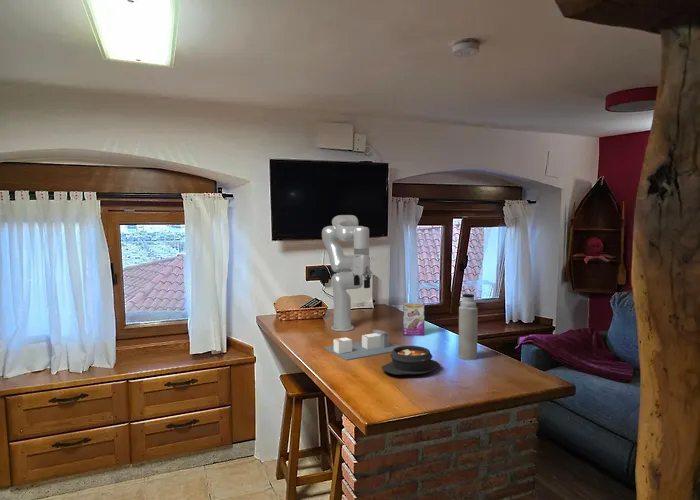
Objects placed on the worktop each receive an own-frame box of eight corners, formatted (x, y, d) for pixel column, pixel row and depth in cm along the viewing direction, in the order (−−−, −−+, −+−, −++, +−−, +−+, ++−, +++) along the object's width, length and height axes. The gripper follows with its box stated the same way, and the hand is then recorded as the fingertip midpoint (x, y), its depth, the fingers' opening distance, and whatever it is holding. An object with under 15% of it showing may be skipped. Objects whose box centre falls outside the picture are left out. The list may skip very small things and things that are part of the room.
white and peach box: (333, 351, 212) (333, 338, 212) (346, 348, 215) (346, 336, 215) (338, 353, 208) (338, 341, 207) (352, 351, 211) (352, 339, 211)
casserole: (397, 383, 172) (397, 361, 172) (372, 369, 189) (372, 349, 188) (450, 372, 184) (450, 351, 183) (422, 359, 200) (422, 340, 200)
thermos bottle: (459, 353, 208) (459, 292, 206) (477, 355, 205) (478, 293, 203) (457, 359, 200) (458, 295, 198) (476, 360, 198) (477, 296, 196)
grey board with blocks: (324, 348, 219) (323, 333, 219) (380, 338, 235) (379, 325, 234) (346, 360, 200) (346, 344, 199) (405, 349, 216) (405, 334, 215)
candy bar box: (403, 335, 241) (403, 304, 240) (403, 333, 246) (402, 302, 245) (424, 335, 240) (424, 304, 239) (424, 333, 245) (424, 303, 244)
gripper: (346, 251, 231) (346, 285, 232) (364, 253, 216) (364, 289, 217) (359, 250, 234) (359, 283, 236) (377, 252, 219) (377, 288, 221)
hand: (361, 286), depth 226 cm, fingers open, 9 cm apart
